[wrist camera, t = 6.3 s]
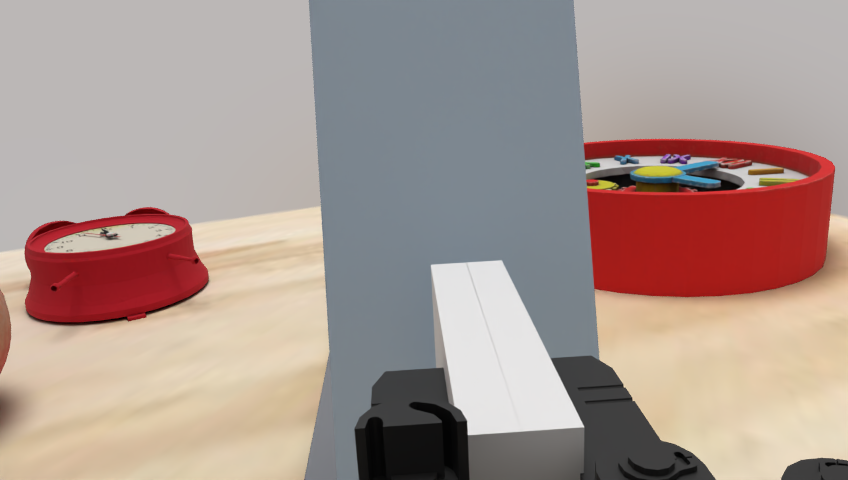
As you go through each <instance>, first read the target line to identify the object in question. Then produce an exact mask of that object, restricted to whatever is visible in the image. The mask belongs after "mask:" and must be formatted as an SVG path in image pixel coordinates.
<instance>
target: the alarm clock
mask: <svg viewBox="0 0 848 480" xmlns="http://www.w3.org/2000/svg"><path fill="white" fill-rule="evenodd" d="M25 260H26V263H27V266H28V268H29V270H30V272H31V281H30V287H29V292H28V294H27V297H26V299H25V305H26V310H27V312H28V313H29V315H31V316H33V317H35V318H38V319H41V320H46V321H54V322H88V321H98V320H107V319H115V318H120V317H125V316H127V318H128V321H132V320H136V319H141V318H145V317H146V314H145V312H147V311H151V310H155V309H158V308H161V307H164V306H167V305H170V304H173V303H175V302H177V301H180V300H182V299H184V298H187V297H189V296H191V295H192V294H194V293H196V292H197V291H199V290H200V289H201V288H203V287H204V285H205V284H206V283H207V282H208V278H209V277H208V270H207V268H206V267H205V266H204V264H203V263H202V262H201V260H200V259H199V257H198V255H197V253H196V252H195V250H194V245H193V238H192V228H191V226H190V225H189V223H188V220H187V219H185V218H183V217H180V216H175V215H169V213H167V212H165V211H163V210H161V209H158V208H152V207H146V208H139V209H136V210H133V211H131V212H129V213H127V214H126V215H125V216H117V217H110V218H102V219H97V220H91V221H85V222H81V223H73V222H69V221H55V222H50V223H47V224H44V225H42V226H40V227H38V228H37V229H36V230H34V231H33V232H32V233H31V235H30V236H29V238H28V240H27V242H26V245H25Z"/></svg>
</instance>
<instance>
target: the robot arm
mask: <svg viewBox="0 0 848 480" xmlns="http://www.w3.org/2000/svg"><path fill="white" fill-rule="evenodd" d="M431 280H432V300H433V319H434V338H435V358H436V368H429V369H414V370H399V371H385V372H384V373H383V374H382V376H381V377H380V378H379V379H378V380H377V382H376V383H375V384H374V385H373V386H372V395H371V408H370V409H369V410H368V411H367V412H365V413H364V414H363V415H362V416H360V417H359V420H358V422H357V424H356V426H355V428H354V431H355V442H356V453H357V464H358V475H359V480H716V479H715V478H714V477H713V475H712V474H711V472H710V471H709V470H708V468H707V467H706V466H705V464H704V463H703V462H701V461H700V460H699V459H698V458H697V457H696V456H695V455H694V454H693V453H691V452H689V451H687V450H685V449H683V448H681V447H679V446H677V445H675V444H672V443H668V442H664V441H661V440H660V439H659V437H658V436H657V434H656V433H655V431H654V430H653V428H652V427H651V425H650V424H649V422H648V421H647V419H646V418H645V416H644V415H643V413H642V412H641V410H640V409H639V407H638V406H637V404H636V403H635V401H633V400H632V397H631V395H630V394H629V392H628V391H627V389H626V388H624V387H623V383H622V382H621V380H620V379H619V377H618V376H617V374H616V373H615V371H614V370H613V368H611V367H609V366H608V365H606V364H605V363H603V362H601V361H600V360H598V359H596V358H595V357H593V356H591V355H590V356H575V357H560V358H550V357H549V355H548V353H547V351H546V349H545V347H544V345H543V343H542V341H541V339H540V337H539V334H538V332H537V330H536V328H535V326H534V324H533V322H532V320H531V318H530V316H529V314H528V312H527V310H526V308H525V306H524V304H523V302H522V300H521V298H520V296H519V294H518V292H517V290H516V288H515V286H514V284H513V282H512V280H511V278H510V276H509V274H508V272H507V270H506V268H505V266H504V264H503V262H502V260H498V261H482V262H466V263H450V264H434V265H431ZM781 480H848V461H846V460H840V459H837V460H835V459H831V458H817V459H807V460H801V461H798V462H796V463H794V464H792V465H790V466H788V467H787V468H786V470H785V472H784V474H783V476H782V478H781Z"/></svg>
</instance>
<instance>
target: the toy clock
mask: <svg viewBox="0 0 848 480" xmlns="http://www.w3.org/2000/svg"><path fill="white" fill-rule="evenodd" d="M584 154H585V168H586V182H587V196H588V210H589V224H590V238H591V251H592V265H593V279H594V289H598V290H604V291H611V292H617V293H627V294H638V295H649V296H675V297H700V296H724V295H735V294H745V293H753V292H759V291H765V290H770V289H776V288H780V287H783V286H787V285H790V284H794V283H797V282H800V281H802V280H804V279H806V278H808V277H810V276H812V275H814V274H815V273H816V272H817V271H819V270H820V269H821V268H822V267H823V264H824V261H825V258H826V249H827V239H828V230H829V221H830V211H831V201H832V192H833V183H834V173H835V166H834V165H833V163H832V162H831V161H829V160H827V159H826V158H824V157H821V156H818V155H815V154H812V153H809V152H805V151H800V150H796V149H791V148H785V147H779V146H773V145H764V144H756V143H746V142H735V141H719V140H718V141H717V140H695V139H693V140H692V139H635V140H614V141H600V142H588V143H584Z"/></svg>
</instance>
